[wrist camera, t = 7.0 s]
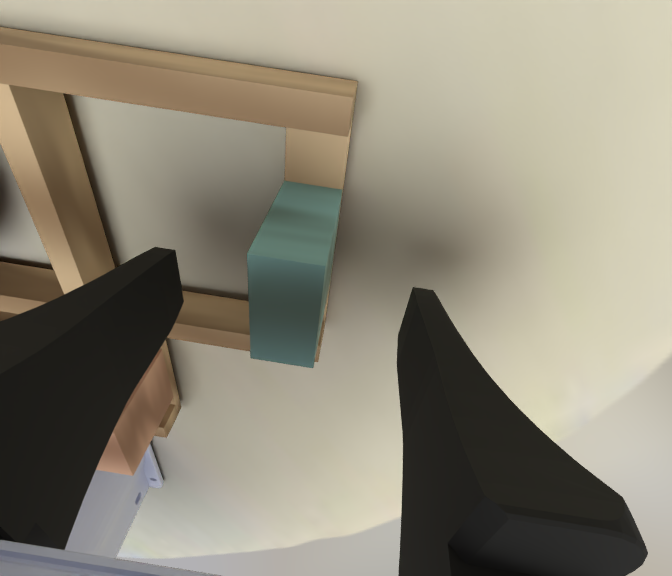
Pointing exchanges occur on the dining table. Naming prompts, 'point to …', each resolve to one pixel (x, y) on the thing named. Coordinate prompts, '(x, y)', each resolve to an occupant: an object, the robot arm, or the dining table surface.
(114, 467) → the frame
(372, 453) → the dining table surface
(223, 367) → the dining table surface
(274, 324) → the tray
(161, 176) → the dining table surface
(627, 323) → the dining table surface
